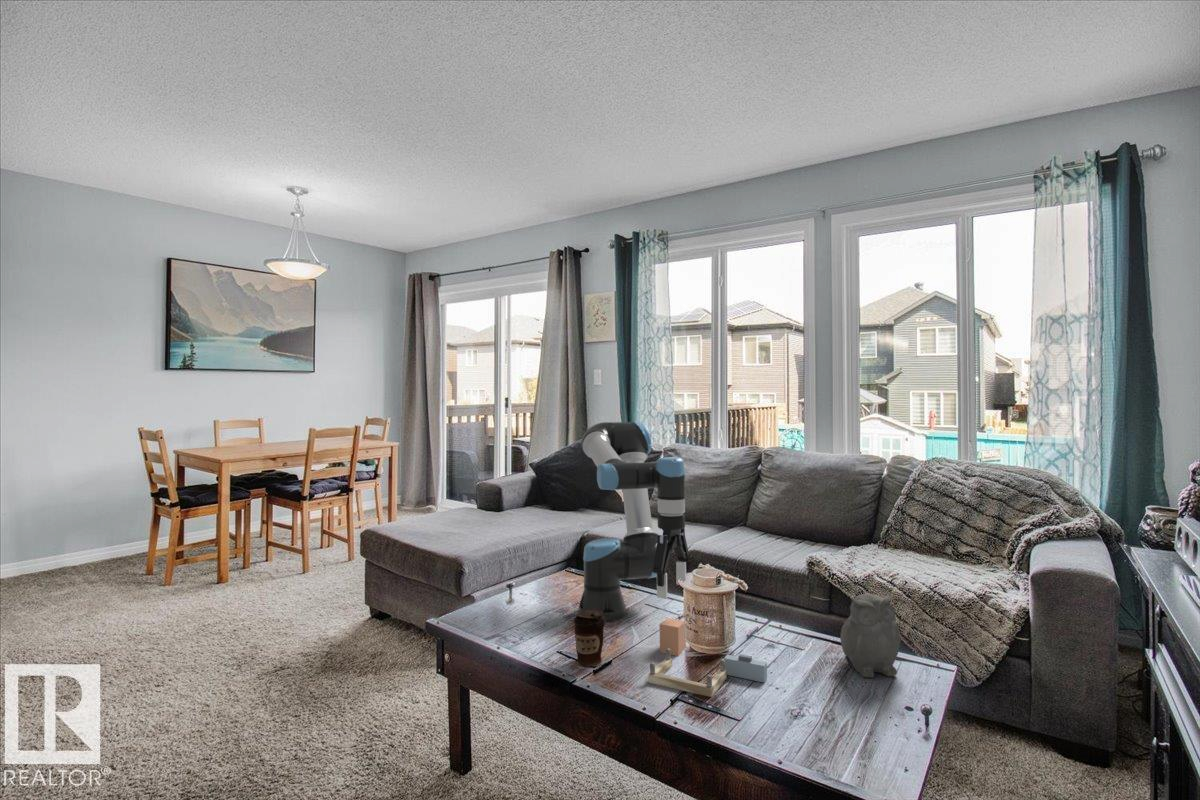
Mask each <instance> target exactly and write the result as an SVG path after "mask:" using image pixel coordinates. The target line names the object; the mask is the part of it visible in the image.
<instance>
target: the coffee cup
mask: <svg viewBox="0 0 1200 800" xmlns="http://www.w3.org/2000/svg"><path fill="white" fill-rule="evenodd" d="M605 620H606V618H605V617H604V616H603V612H601V611H597V610H586V611H582V612H579V611H577V613H576V616H575V617H574V619H573V625H574V638H575V650H576V655H577V663H578V665H579V666H583V667H597V666H601V665H602V663H603V661H602V651H603V646H604V635H605V634H604V633H605V632H604V631H605V625H606V621H605Z"/></svg>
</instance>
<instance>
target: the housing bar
mask: <svg viewBox="0 0 1200 800" xmlns="http://www.w3.org/2000/svg"><path fill="white" fill-rule="evenodd" d="M723 659H724V660H725V670H727V676H732V677H735V678H741V679H745V680H750V681H756V682H759V683H760V682H761V683H766V681H767V679H768V664H767V663H768V662H766V661H763V660H758V659H757V660H756V659H753V656H751V655H747V654H739V655H738V656H736V655H732V654H726V656H725V657H724V658H723Z"/></svg>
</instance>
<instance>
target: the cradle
mask: <svg viewBox="0 0 1200 800" xmlns="http://www.w3.org/2000/svg"><path fill="white" fill-rule="evenodd" d="M671 656H672V654H671V649H669V648H667V649H666V653H665V658H664V659H663V661H661V662H659V664H658V665H657V666H656V663H655V662H649V673H648V678H647V679H648V683H649V684H653V685H657V686H662V687H666V688H671V689H675V690H679V691H683V692H686V693H687V692H688V693H692V694H697V695H700V696H705V697H709V698H712V697H713V696H714V695H715V694H716V692H717V691H718V690H719V688H720V687H721V686H722V685H723V683H724V682H725V681H726V680H727V676H728V675H727V670H725V660H724V658H721V659H719V670H718V671H717V672H716V674H715V675H714V676H713V675H712V674H706V683H702V682H697V681H693V680H688V679H684V678H679V677H674V676H671V675H666V673H667V672H668V671H669V670H671V668H673V658H672V657H671Z"/></svg>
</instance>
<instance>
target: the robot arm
mask: <svg viewBox="0 0 1200 800" xmlns="http://www.w3.org/2000/svg"><path fill="white" fill-rule="evenodd" d="M651 437H652V436H651V433H650V430H649V428H648V426H647V425H646V423H644V422H638V421H637V422H636V421H626V422H625V421H623V422H622V421H620V422H619V421H617V422H616V421H615V422H611V421H609V422H600V423H596V424H594V425H592V426H590V427H589V428H588V429H587V430H586V431H584V433H583V435H582V437H581V441H580V442H581V449H582V451H583V452H584V454H585V455H586V456H587V457H588V458H590V459H591V460H592V461H593V463H594V464H595V467H596V468H597V469H596V481H597V482H596V483H597V486H598V488H599V489H600V490H603V491H604V490H605V491H606V490H607V491H608V490H609V491H614V490H615V491H616V490H617V491H619V490H622V499H623V508H624V517H625V526H626V534H625V535H624V536H623V537H622V540H623V542H621V540H620V539H619V538H617V537H603V538H596V539H593V540H591V541H589V542H587V543H586V544H585V546H584V549H583V558H582V561H583V586H584V587H583V592H582V595H581V598H580V601H579V605H578V612H582V611H586V610H597V611H601V612H603V616H604V617H605V618H606V620H605V622H611V621H617V620H619V619H622V618H624V617H625V616H626V615H627V614H626V613H627V606H626V603H625V600H624V596H623V594H622V590H621V581H623V580H638V579H651V578H652V579H653V578H656V598H658V599H668V573H667V572H666V571H667V568H668V564H669V560H670V557H671V553H672V552H674V554H675V557H676V560H677V561H675V565H676V566H675V570H676V571H675V573H676V574H675V575H676V576H675V579H676V581H675V582H676V585H677V586H680V585H679V584H678V580H679V579H680V578H681V579H680V581H681V580H682V581H683V582H684V581H686V582H687V562H689V561H690V553H689V549H688V547H689V546H688V543H687V539H686V531H685V529H686V516H685V515H684V513H686V498H685V482H686V481H685V476H686V469H685V462H684V461H685V460H684V459H683V458H681V457H668V456H667V457H659V458H658V459H657V460H656V461H651V462H646V460H648V455H649V454H650V453H651V451H652V438H651ZM648 489H657V496H656V497H657V501H656V502H655V503H656V504H657V512H658V514H657V527H658V528H659V529H660V530H662V534H658V532H656V531H655V530H654V528H653V520H652V514H651V506H650V500H649V499H650V498H649V497H650V496H649V491H648Z"/></svg>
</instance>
